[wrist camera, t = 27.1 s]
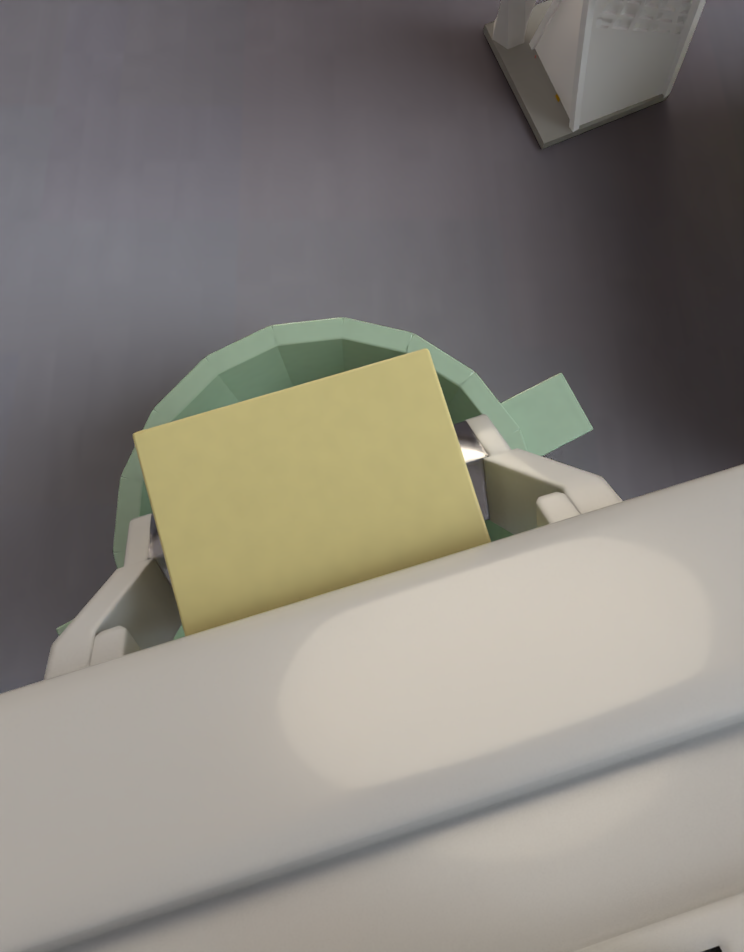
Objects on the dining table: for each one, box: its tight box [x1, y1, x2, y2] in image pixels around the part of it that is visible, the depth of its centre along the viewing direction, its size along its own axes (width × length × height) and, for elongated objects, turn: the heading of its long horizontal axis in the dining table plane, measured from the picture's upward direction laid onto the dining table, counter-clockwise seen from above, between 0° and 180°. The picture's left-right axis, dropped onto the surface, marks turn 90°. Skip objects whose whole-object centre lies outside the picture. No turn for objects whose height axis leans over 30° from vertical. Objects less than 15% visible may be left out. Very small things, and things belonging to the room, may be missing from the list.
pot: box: [56, 317, 593, 640], centre depth 25 cm, size 15×20×8 cm
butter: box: [133, 348, 491, 636], centre depth 15 cm, size 4×6×9 cm
